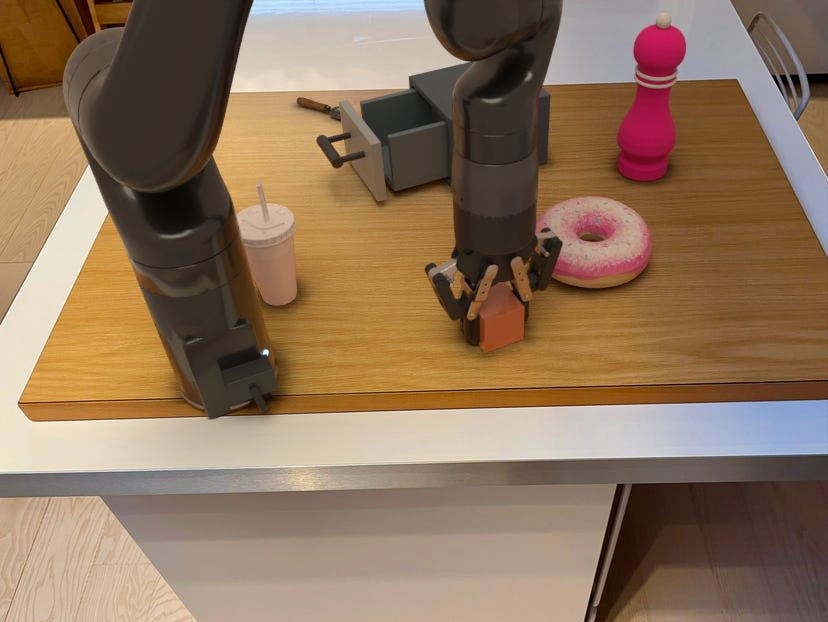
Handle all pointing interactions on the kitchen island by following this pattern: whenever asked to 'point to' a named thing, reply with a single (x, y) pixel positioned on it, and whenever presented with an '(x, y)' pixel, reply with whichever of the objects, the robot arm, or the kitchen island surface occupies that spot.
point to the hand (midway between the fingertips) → (494, 330)
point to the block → (500, 318)
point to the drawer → (392, 142)
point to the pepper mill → (651, 102)
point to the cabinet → (439, 96)
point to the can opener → (319, 107)
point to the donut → (597, 241)
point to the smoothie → (270, 249)
